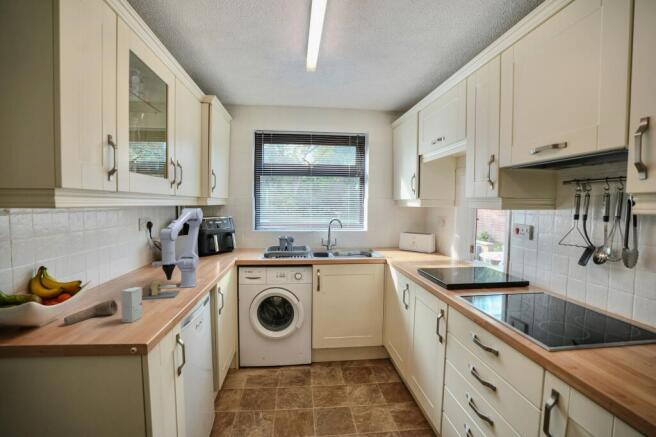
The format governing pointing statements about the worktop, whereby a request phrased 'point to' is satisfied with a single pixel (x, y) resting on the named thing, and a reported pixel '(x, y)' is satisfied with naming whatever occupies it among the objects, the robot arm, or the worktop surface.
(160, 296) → the rail
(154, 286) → the collar
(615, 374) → the worktop surface
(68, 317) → the pipe
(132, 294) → the skincare box
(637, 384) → the worktop surface
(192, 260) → the robot arm
